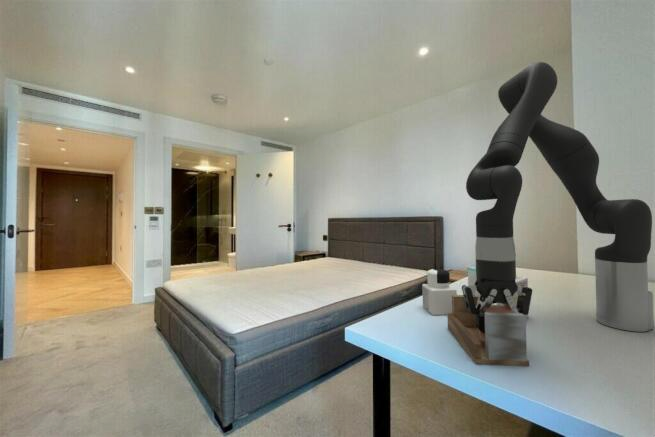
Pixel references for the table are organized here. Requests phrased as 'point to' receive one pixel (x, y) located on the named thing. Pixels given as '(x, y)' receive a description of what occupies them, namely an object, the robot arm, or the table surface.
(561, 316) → the table surface
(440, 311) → the container
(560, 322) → the table surface
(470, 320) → the shelf
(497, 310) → the book
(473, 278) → the can
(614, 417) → the table surface
